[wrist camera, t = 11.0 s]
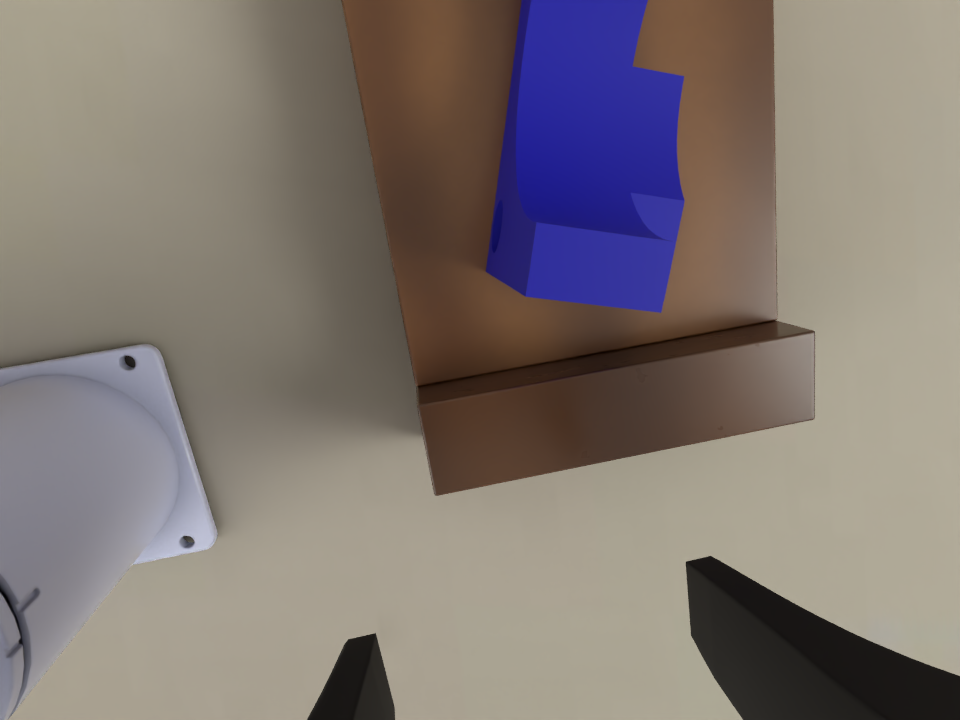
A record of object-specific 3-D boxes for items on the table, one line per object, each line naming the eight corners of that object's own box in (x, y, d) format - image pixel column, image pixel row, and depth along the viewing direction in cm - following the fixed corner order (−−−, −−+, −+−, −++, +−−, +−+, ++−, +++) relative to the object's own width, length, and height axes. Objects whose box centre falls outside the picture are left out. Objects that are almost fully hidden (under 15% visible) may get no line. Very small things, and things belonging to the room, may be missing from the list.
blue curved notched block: (622, 288, 18) (725, 320, 12) (485, 271, 17) (525, 296, 11) (704, -147, 15) (887, -373, 9) (546, -187, 14) (638, -459, 9)
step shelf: (428, 438, 21) (434, 497, 17) (284, -314, 16) (233, -542, 11) (731, 379, 23) (815, 419, 18) (705, -345, 17) (821, -565, 12)
